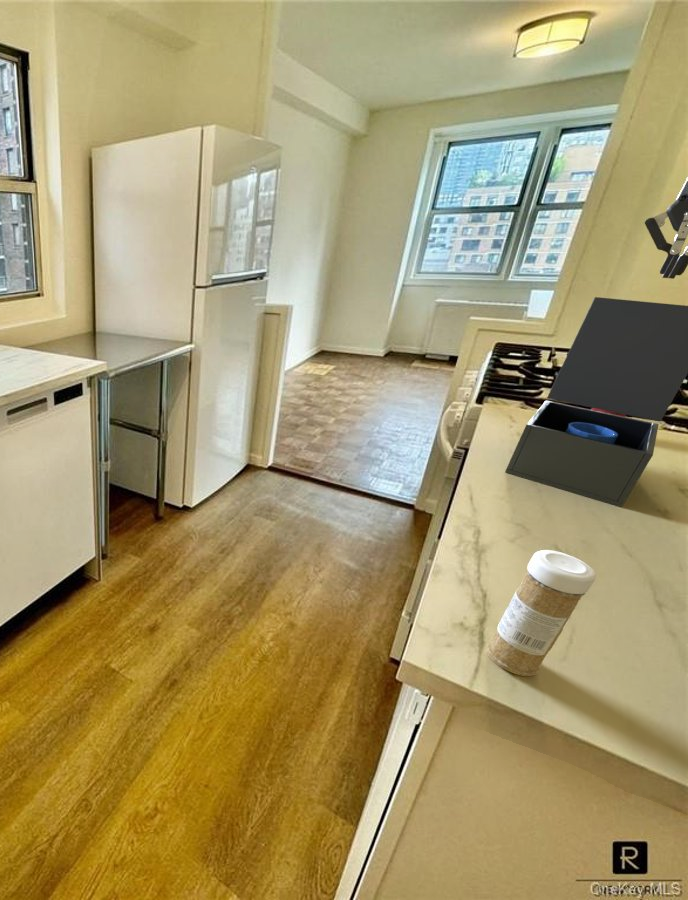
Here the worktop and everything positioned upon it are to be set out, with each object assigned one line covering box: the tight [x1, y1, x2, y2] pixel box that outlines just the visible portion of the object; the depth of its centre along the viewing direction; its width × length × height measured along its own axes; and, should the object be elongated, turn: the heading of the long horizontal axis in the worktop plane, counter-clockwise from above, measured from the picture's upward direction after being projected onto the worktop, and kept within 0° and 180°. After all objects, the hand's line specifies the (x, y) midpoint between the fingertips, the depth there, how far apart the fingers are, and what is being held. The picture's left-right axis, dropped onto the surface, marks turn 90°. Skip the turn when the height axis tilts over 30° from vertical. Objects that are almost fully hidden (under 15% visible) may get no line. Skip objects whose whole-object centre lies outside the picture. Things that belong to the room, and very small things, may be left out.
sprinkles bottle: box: [485, 549, 597, 677], centre depth 49 cm, size 5×5×14 cm
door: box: [546, 296, 688, 423], centre depth 88 cm, size 20×16×1 cm
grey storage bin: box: [504, 400, 659, 508], centre depth 88 cm, size 19×16×10 cm
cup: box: [565, 422, 618, 444], centre depth 88 cm, size 6×6×8 cm
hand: (667, 277), depth 85 cm, fingers closed
